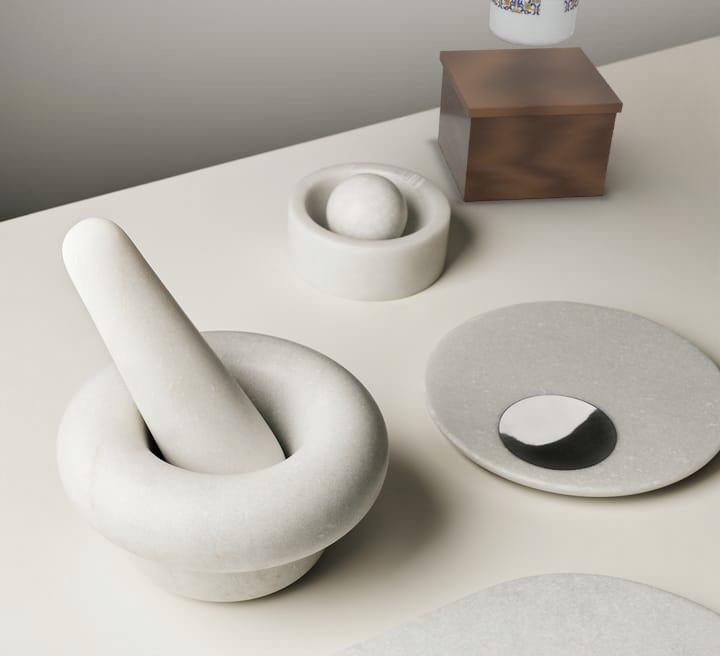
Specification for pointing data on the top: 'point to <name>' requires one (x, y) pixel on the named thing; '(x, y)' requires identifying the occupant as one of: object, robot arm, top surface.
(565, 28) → the bath foam
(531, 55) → the walnut box
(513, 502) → the top surface
